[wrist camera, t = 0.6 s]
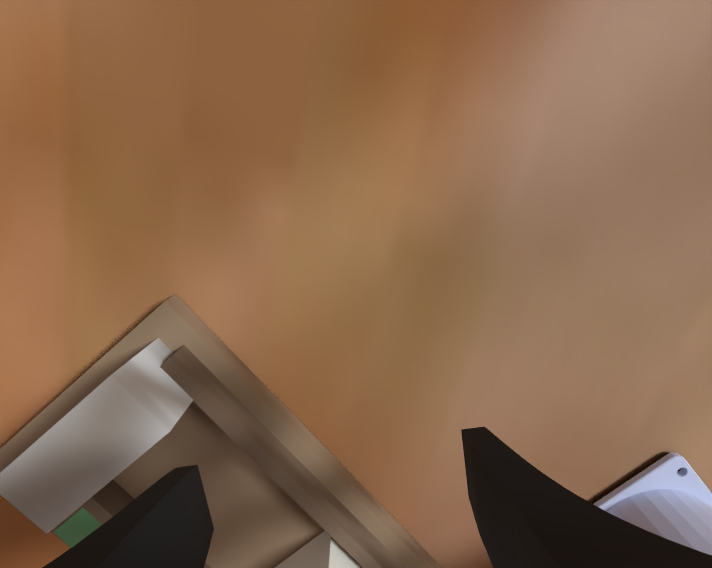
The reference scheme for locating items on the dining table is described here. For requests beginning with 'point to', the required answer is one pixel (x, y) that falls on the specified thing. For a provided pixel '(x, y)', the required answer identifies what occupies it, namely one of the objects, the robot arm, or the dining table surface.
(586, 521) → the robot arm
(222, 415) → the gauge board
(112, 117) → the dining table surface
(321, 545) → the white block with bar
